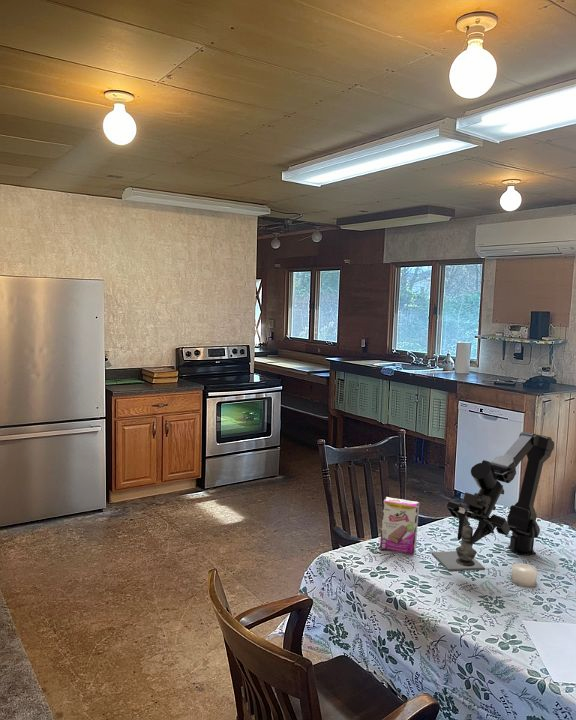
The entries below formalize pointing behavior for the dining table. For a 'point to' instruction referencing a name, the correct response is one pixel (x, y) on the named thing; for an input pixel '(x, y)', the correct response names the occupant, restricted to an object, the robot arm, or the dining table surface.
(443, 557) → the mat
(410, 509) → the candy bar box
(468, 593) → the dining table surface
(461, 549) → the grey chess piece
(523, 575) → the cream rounded squat cylinder
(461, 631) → the dining table surface
